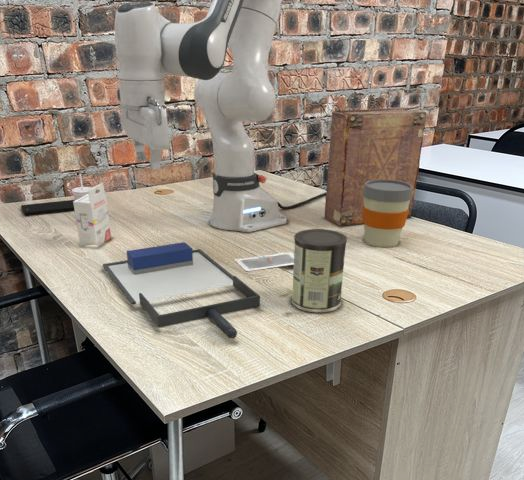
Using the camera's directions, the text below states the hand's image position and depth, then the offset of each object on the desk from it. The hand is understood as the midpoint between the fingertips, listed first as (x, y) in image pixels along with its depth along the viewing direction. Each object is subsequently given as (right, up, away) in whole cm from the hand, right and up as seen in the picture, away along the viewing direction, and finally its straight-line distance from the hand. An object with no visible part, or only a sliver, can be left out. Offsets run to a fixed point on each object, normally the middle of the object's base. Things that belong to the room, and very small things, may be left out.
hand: (148, 164), depth 121 cm
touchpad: (+26, -20, +12) cm, 35 cm away
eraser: (+1, -21, +8) cm, 22 cm away
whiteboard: (+4, -24, +4) cm, 25 cm away
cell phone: (-39, +3, +50) cm, 64 cm away
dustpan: (+15, -34, -13) cm, 40 cm away
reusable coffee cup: (+57, -11, +30) cm, 65 cm away
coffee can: (+36, -30, -5) cm, 47 cm away
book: (+57, 0, +48) cm, 74 cm away
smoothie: (-25, -4, +38) cm, 46 cm away
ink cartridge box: (-19, -12, +25) cm, 33 cm away
